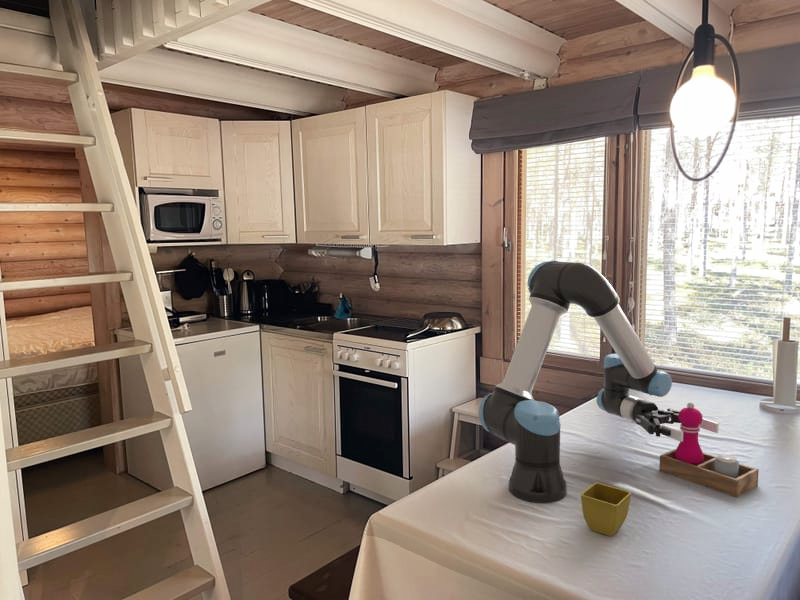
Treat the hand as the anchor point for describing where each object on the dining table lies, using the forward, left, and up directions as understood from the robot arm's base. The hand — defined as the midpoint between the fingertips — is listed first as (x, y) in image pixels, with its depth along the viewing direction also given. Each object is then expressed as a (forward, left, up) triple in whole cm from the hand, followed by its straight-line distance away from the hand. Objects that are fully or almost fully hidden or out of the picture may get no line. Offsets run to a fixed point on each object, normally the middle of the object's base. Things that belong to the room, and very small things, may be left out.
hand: (700, 432), depth 162 cm
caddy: (+1, -2, -13) cm, 14 cm away
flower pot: (-42, -2, -14) cm, 45 cm away
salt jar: (+1, -7, -12) cm, 14 cm away
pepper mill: (+1, +3, -13) cm, 13 cm away
